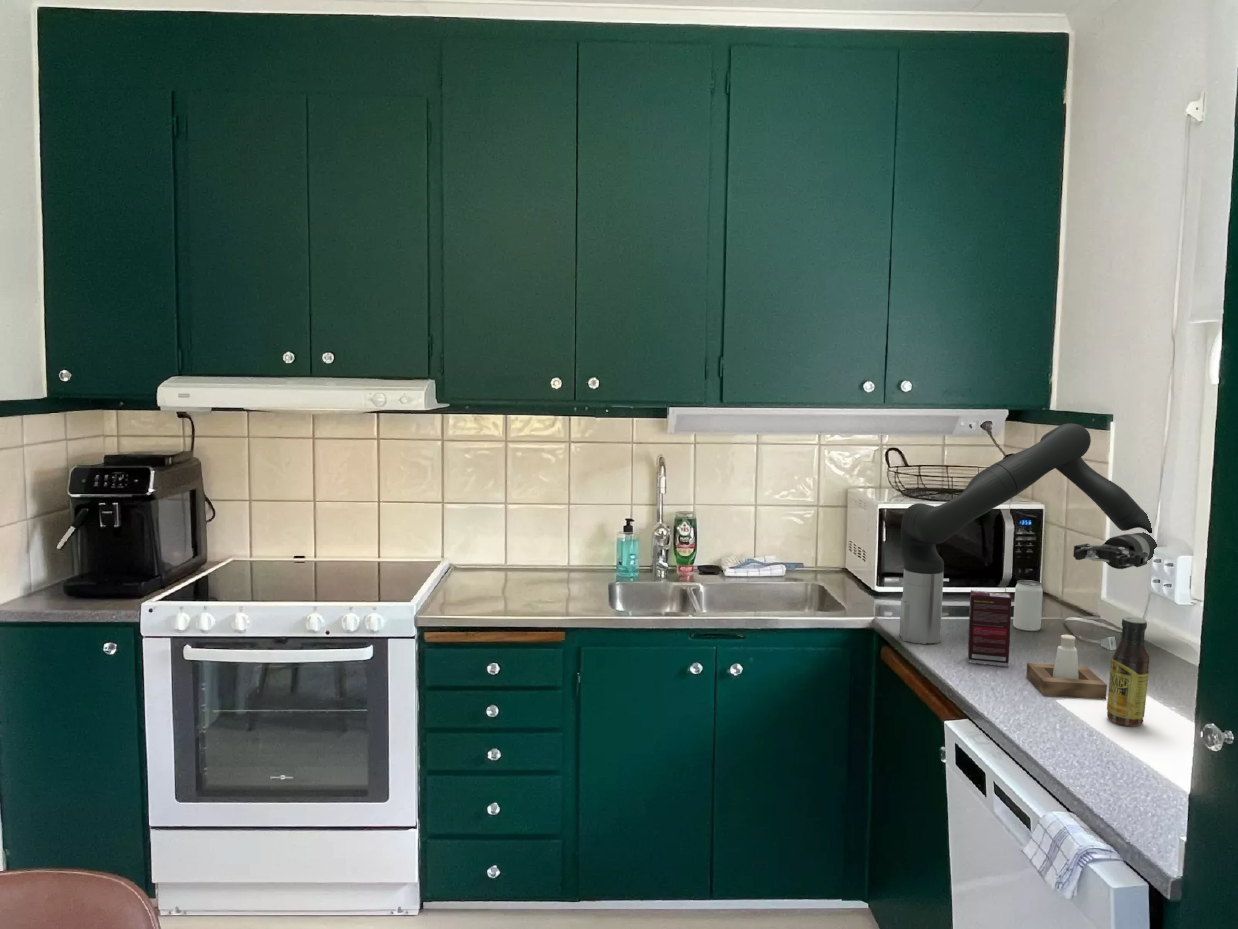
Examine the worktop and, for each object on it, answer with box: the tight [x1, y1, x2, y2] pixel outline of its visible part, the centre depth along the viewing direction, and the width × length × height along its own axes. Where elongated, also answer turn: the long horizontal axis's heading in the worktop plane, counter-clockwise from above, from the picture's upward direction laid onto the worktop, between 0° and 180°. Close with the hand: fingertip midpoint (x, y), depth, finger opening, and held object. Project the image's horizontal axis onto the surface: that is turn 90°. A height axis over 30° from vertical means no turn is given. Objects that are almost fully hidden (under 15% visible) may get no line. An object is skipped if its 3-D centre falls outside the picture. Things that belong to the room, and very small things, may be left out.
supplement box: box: [967, 589, 1012, 668], centre depth 209 cm, size 9×5×16 cm, turn 71°
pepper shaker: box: [1052, 634, 1079, 679], centre depth 192 cm, size 5×5×11 cm
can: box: [1012, 579, 1044, 632], centre depth 238 cm, size 6×6×12 cm
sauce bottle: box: [1106, 616, 1150, 727], centre depth 173 cm, size 6×6×20 cm
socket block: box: [1025, 662, 1108, 700], centre depth 193 cm, size 12×12×3 cm
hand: (1096, 558), depth 204 cm, fingers open, 8 cm apart
